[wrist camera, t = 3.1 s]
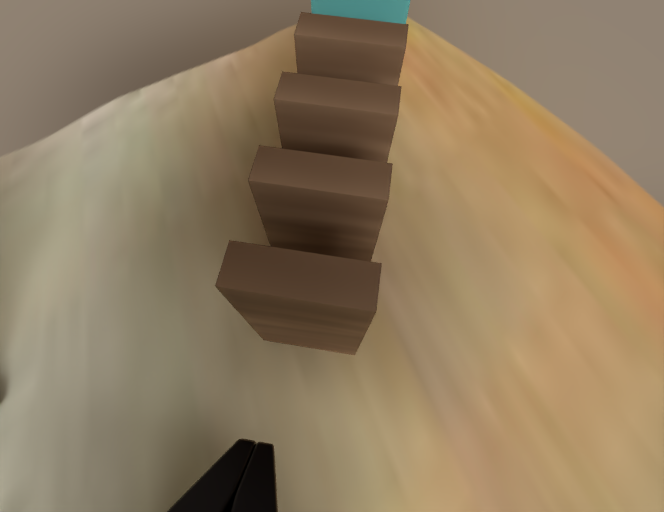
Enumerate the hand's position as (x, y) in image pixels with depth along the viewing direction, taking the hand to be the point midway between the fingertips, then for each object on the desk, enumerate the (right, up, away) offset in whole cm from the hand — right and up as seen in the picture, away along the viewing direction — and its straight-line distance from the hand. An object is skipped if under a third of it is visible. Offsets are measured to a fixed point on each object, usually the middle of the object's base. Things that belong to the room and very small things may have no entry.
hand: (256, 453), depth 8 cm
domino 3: (+2, +8, +14) cm, 16 cm away
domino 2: (+1, +4, +13) cm, 13 cm away
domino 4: (+3, +11, +16) cm, 20 cm away
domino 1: (+1, 0, +11) cm, 11 cm away
